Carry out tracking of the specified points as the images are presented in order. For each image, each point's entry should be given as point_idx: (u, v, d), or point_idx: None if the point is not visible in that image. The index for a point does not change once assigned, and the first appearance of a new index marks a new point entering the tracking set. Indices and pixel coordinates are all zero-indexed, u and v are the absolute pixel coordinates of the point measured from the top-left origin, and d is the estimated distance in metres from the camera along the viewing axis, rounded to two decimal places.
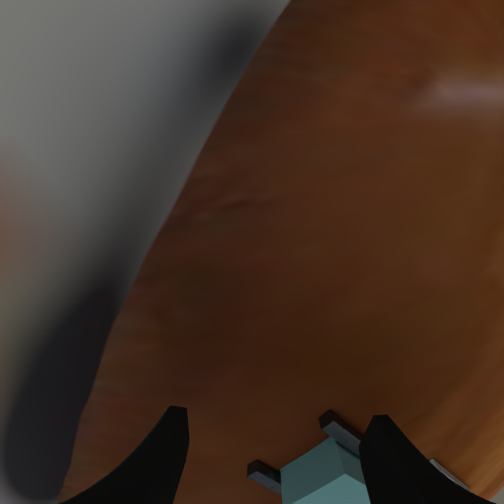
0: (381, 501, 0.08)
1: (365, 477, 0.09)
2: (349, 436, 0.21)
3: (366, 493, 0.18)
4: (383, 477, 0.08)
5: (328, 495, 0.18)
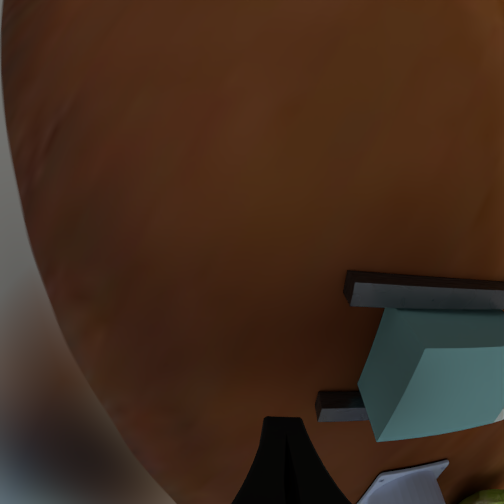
0: None
1: None
2: (400, 290, 0.14)
3: (484, 358, 0.11)
4: (285, 484, 0.08)
5: (427, 393, 0.12)
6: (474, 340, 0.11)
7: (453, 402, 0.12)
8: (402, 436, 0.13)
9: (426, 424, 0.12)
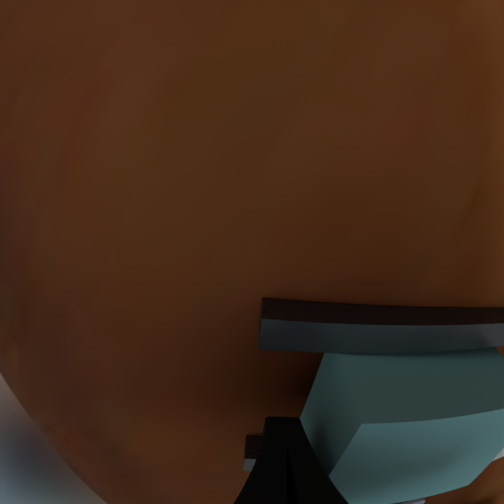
0: None
1: None
2: (334, 329, 0.10)
3: (459, 428, 0.07)
4: None
5: (369, 469, 0.08)
6: (446, 405, 0.08)
7: (410, 475, 0.08)
8: None
9: (371, 497, 0.09)
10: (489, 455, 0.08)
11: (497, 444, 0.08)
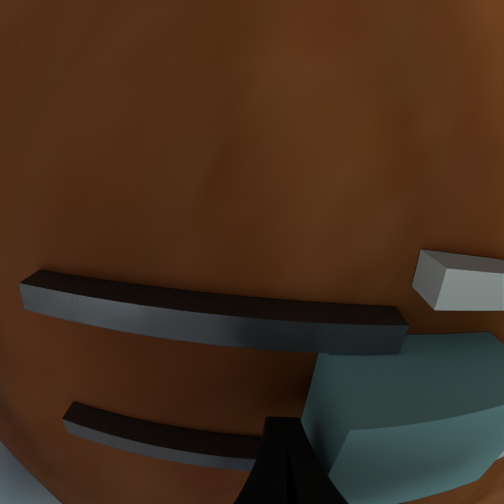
0: None
1: None
2: (63, 298, 0.10)
3: (458, 427, 0.07)
4: None
5: (367, 473, 0.08)
6: (443, 405, 0.07)
7: (412, 476, 0.08)
8: None
9: (374, 498, 0.08)
10: (496, 449, 0.08)
11: (503, 438, 0.08)
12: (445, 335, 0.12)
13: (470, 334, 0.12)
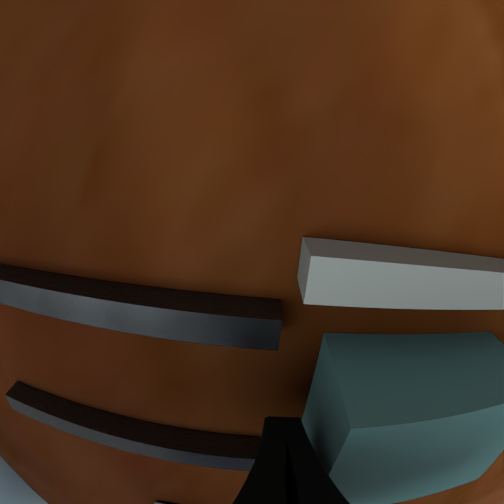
0: None
1: None
2: None
3: (459, 426, 0.07)
4: (284, 484, 0.08)
5: (367, 472, 0.08)
6: (443, 404, 0.08)
7: (413, 475, 0.08)
8: None
9: (375, 497, 0.09)
10: (496, 448, 0.08)
11: None
12: (445, 334, 0.12)
13: (470, 333, 0.12)
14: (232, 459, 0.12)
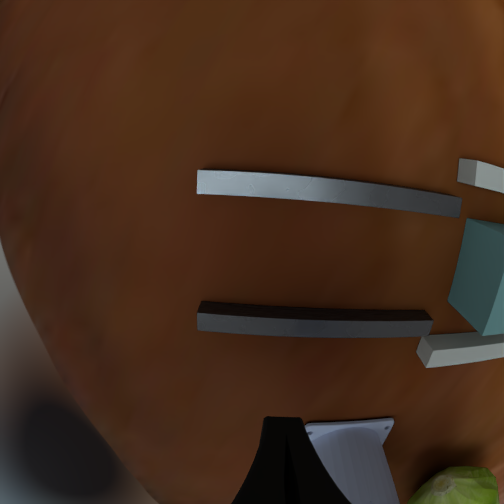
0: None
1: None
2: (246, 176, 0.15)
3: None
4: (285, 484, 0.08)
5: None
6: None
7: None
8: (498, 330, 0.14)
9: None
10: None
11: None
12: None
13: None
14: (417, 323, 0.18)
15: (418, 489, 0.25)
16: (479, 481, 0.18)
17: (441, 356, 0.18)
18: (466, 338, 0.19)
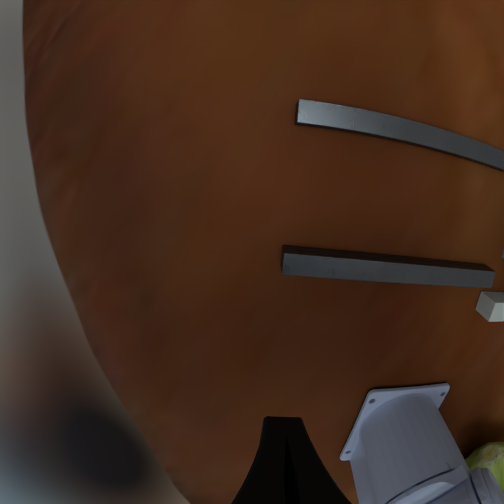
0: None
1: None
2: (346, 110, 0.14)
3: None
4: (285, 484, 0.08)
5: None
6: None
7: None
8: None
9: None
10: None
11: None
12: None
13: None
14: (483, 273, 0.16)
15: None
16: None
17: (501, 310, 0.17)
18: None
